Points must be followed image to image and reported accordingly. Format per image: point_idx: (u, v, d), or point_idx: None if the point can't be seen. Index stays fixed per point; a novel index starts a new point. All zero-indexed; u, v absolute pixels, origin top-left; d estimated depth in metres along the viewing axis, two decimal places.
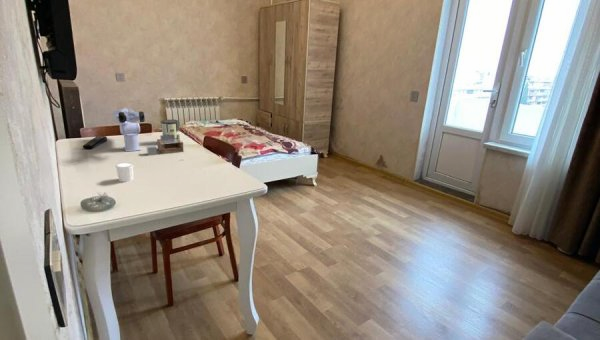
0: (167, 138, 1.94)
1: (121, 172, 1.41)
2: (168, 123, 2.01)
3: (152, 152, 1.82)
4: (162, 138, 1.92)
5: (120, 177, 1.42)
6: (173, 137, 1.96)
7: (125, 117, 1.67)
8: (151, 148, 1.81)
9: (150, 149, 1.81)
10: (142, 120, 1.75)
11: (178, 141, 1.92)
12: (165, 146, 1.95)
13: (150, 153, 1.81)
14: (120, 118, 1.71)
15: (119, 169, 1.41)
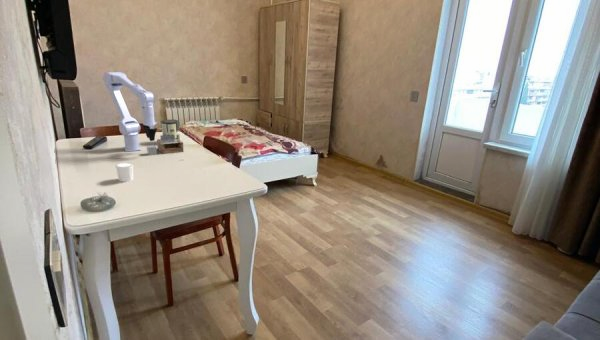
0: (167, 138, 1.94)
1: (121, 172, 1.41)
2: (168, 123, 2.01)
3: (152, 152, 1.82)
4: (162, 138, 1.92)
5: (120, 177, 1.42)
6: (173, 137, 1.96)
7: (153, 140, 1.78)
8: (151, 148, 1.81)
9: (150, 149, 1.81)
10: (145, 130, 1.83)
11: (178, 141, 1.92)
12: (165, 146, 1.95)
13: (150, 153, 1.81)
14: None
15: (119, 169, 1.41)
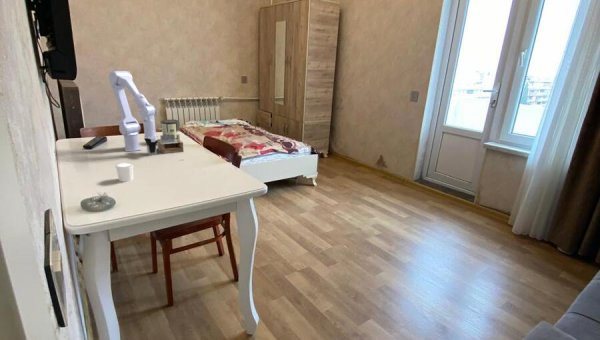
0: (167, 138, 1.94)
1: (121, 172, 1.41)
2: (168, 123, 2.01)
3: None
4: (162, 138, 1.92)
5: (120, 177, 1.42)
6: (173, 137, 1.96)
7: None
8: None
9: None
10: None
11: (178, 141, 1.92)
12: (165, 146, 1.95)
13: (150, 153, 1.81)
14: None
15: (119, 169, 1.41)
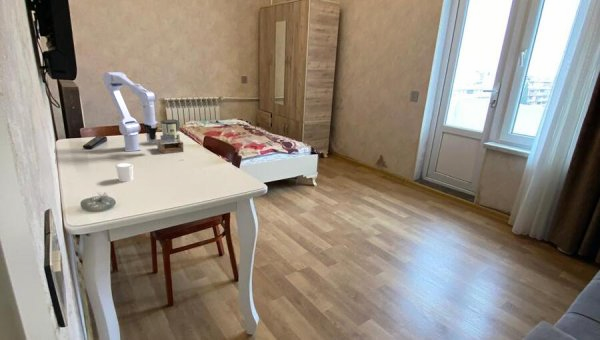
0: (167, 138, 1.94)
1: (121, 172, 1.41)
2: (168, 123, 2.01)
3: (152, 140, 1.80)
4: (162, 138, 1.92)
5: (120, 177, 1.42)
6: (173, 137, 1.96)
7: (153, 139, 1.80)
8: None
9: None
10: (146, 130, 1.82)
11: (178, 141, 1.92)
12: (165, 146, 1.95)
13: (150, 141, 1.80)
14: None
15: (119, 169, 1.41)
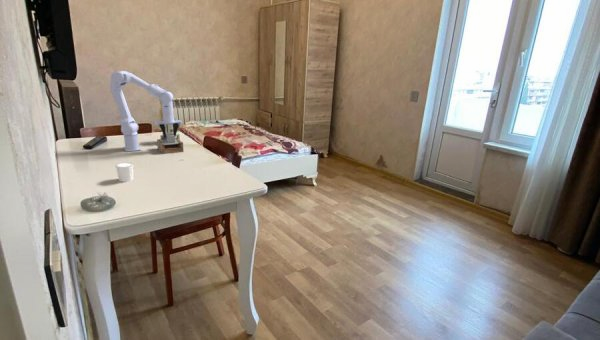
0: None
1: (121, 172, 1.41)
2: None
3: None
4: (162, 138, 1.92)
5: (120, 177, 1.42)
6: None
7: None
8: None
9: None
10: (163, 131, 1.85)
11: (178, 142, 1.92)
12: (165, 146, 1.95)
13: None
14: None
15: (119, 169, 1.41)
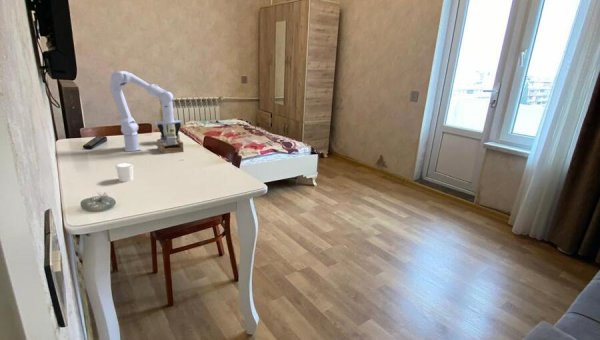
0: None
1: (121, 172, 1.41)
2: None
3: None
4: (162, 138, 1.92)
5: (120, 177, 1.42)
6: None
7: (176, 135, 1.92)
8: None
9: None
10: (161, 131, 1.84)
11: (178, 143, 1.92)
12: (165, 146, 1.95)
13: None
14: None
15: (119, 169, 1.41)
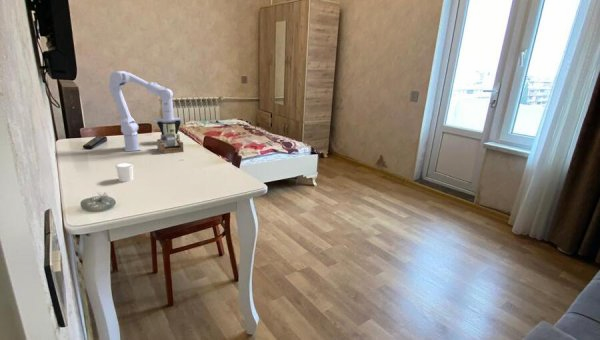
0: None
1: (121, 172, 1.41)
2: (168, 123, 2.01)
3: None
4: (162, 138, 1.92)
5: (120, 177, 1.42)
6: None
7: (176, 133, 1.92)
8: None
9: None
10: (161, 128, 1.84)
11: (178, 144, 1.92)
12: None
13: None
14: None
15: (119, 169, 1.41)
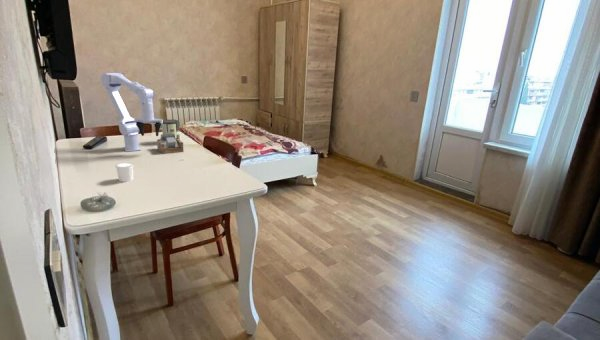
0: None
1: (121, 172, 1.41)
2: (168, 123, 2.01)
3: None
4: (162, 138, 1.92)
5: (120, 177, 1.42)
6: None
7: (157, 135, 1.82)
8: None
9: None
10: (139, 129, 1.78)
11: (178, 146, 1.93)
12: None
13: None
14: None
15: (119, 169, 1.41)
